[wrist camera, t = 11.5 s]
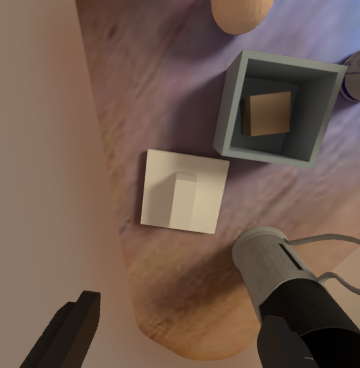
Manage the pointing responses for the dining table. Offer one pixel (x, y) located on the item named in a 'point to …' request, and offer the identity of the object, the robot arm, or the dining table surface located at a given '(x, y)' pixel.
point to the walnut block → (265, 114)
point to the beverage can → (352, 78)
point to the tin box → (299, 107)
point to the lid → (183, 191)
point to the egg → (239, 14)
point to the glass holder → (297, 294)
